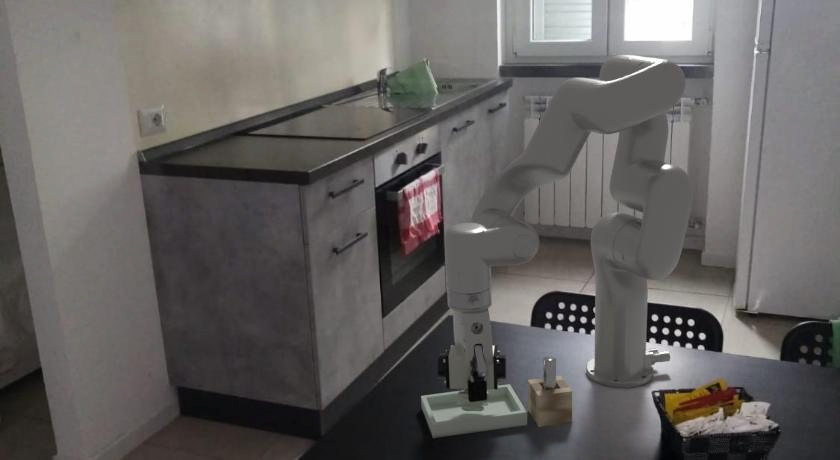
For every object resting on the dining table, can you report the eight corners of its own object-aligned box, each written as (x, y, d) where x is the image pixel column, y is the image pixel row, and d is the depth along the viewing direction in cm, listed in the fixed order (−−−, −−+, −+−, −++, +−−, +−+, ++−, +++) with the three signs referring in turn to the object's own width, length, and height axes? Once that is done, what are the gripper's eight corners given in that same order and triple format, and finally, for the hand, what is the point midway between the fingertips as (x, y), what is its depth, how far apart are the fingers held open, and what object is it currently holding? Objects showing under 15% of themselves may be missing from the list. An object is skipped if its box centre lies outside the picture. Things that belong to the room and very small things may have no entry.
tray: (510, 396, 160) (509, 384, 159) (527, 424, 150) (526, 412, 149) (421, 408, 157) (420, 395, 156) (433, 438, 147) (432, 425, 146)
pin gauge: (553, 412, 153) (553, 355, 150) (557, 418, 151) (557, 361, 148) (541, 414, 153) (541, 357, 150) (545, 420, 151) (545, 362, 147)
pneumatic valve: (506, 414, 149) (505, 350, 146) (439, 413, 151) (436, 349, 148) (507, 399, 155) (506, 337, 151) (442, 398, 156) (440, 336, 153)
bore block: (560, 405, 155) (560, 375, 153) (572, 422, 150) (572, 391, 148) (528, 410, 154) (527, 379, 153) (538, 427, 149) (538, 395, 147)
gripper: (504, 312, 139) (507, 412, 144) (478, 276, 155) (481, 367, 161) (459, 318, 138) (463, 418, 143) (437, 281, 154) (442, 372, 159)
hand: (473, 390), depth 152 cm, fingers closed on pneumatic valve, 5 cm apart
